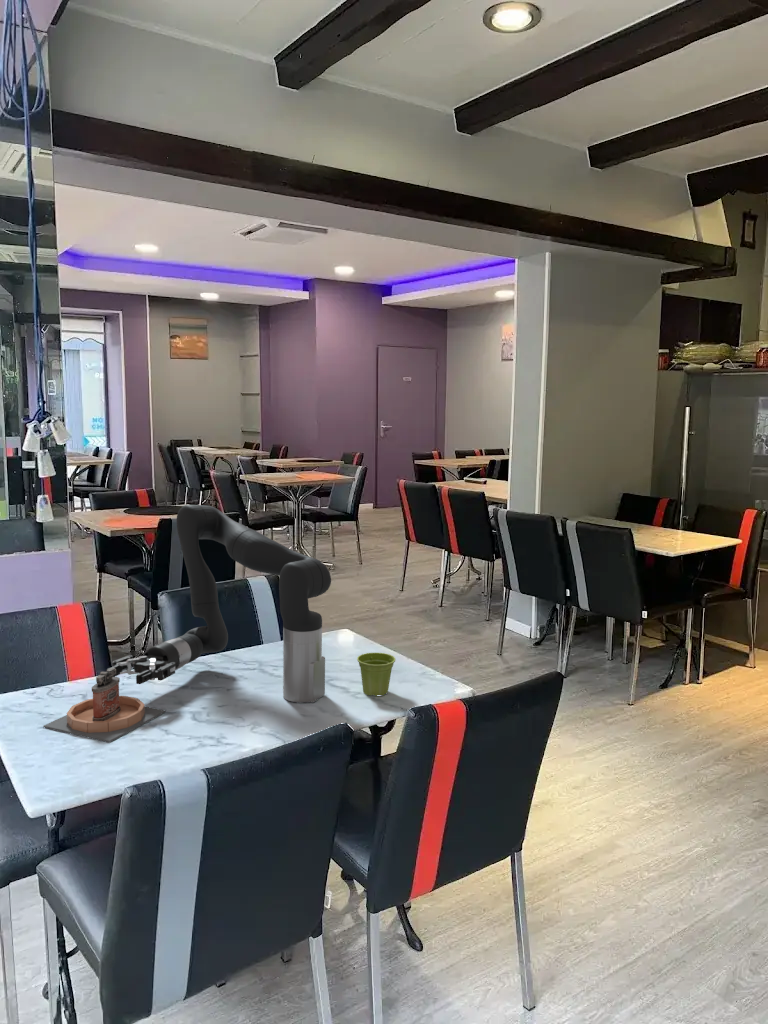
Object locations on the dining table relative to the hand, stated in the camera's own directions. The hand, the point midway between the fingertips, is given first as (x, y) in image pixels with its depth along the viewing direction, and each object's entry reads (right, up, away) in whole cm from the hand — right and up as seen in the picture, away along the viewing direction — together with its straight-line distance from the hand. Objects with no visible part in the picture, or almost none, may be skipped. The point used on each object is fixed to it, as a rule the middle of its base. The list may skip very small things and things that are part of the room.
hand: (122, 677), depth 172 cm
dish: (-2, -9, -4) cm, 10 cm away
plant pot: (+57, -7, +16) cm, 60 cm away
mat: (-2, -9, -4) cm, 10 cm away
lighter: (-2, -8, -4) cm, 9 cm away
